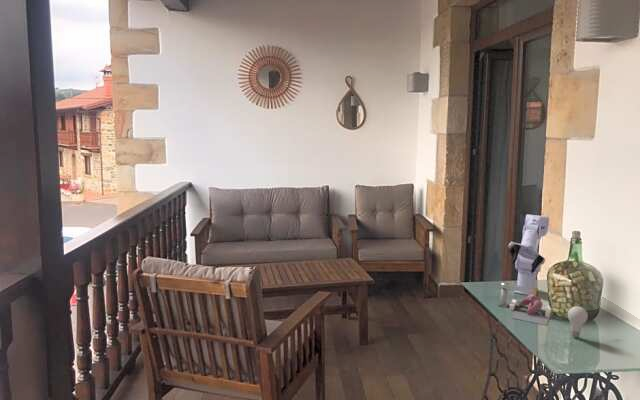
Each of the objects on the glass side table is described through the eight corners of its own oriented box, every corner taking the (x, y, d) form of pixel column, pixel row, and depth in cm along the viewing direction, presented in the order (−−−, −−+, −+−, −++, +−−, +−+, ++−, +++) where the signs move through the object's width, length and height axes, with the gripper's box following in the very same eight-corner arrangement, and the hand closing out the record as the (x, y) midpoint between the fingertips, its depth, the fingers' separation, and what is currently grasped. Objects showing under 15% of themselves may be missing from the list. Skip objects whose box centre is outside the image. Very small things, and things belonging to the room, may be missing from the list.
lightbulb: (583, 335, 180) (587, 305, 178) (586, 342, 174) (590, 311, 172) (564, 332, 182) (567, 302, 180) (566, 339, 176) (569, 308, 174)
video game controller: (536, 319, 196) (547, 303, 195) (526, 313, 195) (536, 298, 194) (527, 309, 205) (536, 294, 204) (517, 304, 205) (526, 289, 204)
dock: (500, 301, 209) (502, 286, 208) (551, 311, 200) (552, 295, 199) (497, 307, 203) (498, 291, 202) (549, 317, 194) (551, 300, 193)
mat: (515, 311, 200) (515, 310, 200) (548, 317, 194) (549, 317, 194) (511, 318, 193) (511, 317, 193) (546, 325, 187) (546, 325, 187)
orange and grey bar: (500, 288, 203) (500, 283, 203) (501, 286, 206) (502, 281, 205) (535, 295, 197) (536, 290, 197) (536, 293, 200) (537, 288, 199)
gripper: (516, 229, 208) (511, 250, 198) (551, 247, 206) (547, 269, 196) (508, 240, 213) (502, 261, 203) (541, 258, 210) (537, 280, 201)
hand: (523, 266), depth 200 cm, fingers open, 7 cm apart
